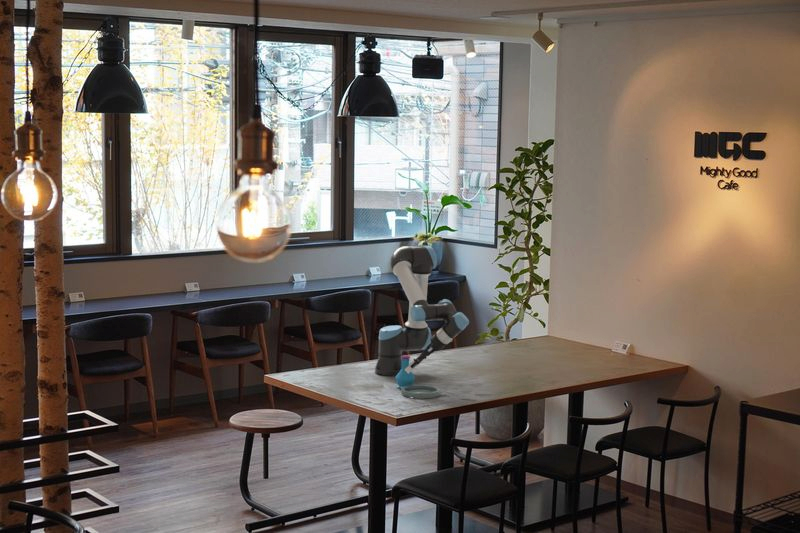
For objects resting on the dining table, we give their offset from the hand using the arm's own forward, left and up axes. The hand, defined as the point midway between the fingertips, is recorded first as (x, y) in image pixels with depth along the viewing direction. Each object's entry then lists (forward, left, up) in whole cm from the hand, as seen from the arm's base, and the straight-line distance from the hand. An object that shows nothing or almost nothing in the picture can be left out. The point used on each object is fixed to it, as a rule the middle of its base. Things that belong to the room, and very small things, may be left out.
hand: (409, 368), depth 487 cm
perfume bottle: (-2, +1, -9) cm, 10 cm away
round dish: (+8, -11, -9) cm, 16 cm away
